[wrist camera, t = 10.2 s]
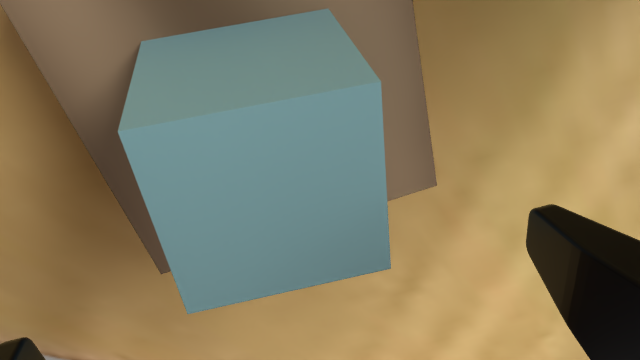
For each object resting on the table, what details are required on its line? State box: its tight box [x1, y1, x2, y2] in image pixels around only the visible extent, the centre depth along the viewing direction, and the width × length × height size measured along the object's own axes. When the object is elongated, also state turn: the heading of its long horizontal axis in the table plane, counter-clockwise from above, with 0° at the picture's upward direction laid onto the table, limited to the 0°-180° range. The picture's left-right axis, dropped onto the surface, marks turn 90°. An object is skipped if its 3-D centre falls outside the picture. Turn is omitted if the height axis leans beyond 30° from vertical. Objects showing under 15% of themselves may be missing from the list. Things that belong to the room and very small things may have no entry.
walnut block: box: [0, 0, 437, 274], centre depth 17 cm, size 10×10×4 cm
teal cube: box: [118, 9, 391, 314], centre depth 13 cm, size 5×5×5 cm
